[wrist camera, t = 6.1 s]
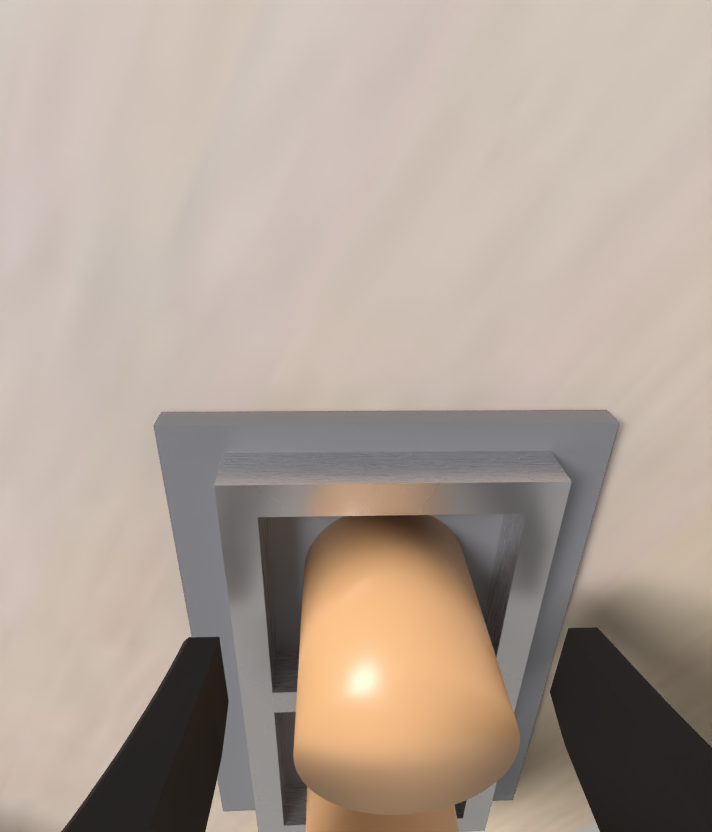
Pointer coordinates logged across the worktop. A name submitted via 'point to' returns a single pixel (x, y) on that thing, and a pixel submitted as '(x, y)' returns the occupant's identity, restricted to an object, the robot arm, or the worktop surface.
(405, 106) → the worktop surface
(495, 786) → the frame
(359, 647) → the peach rounded capsule
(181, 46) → the worktop surface
